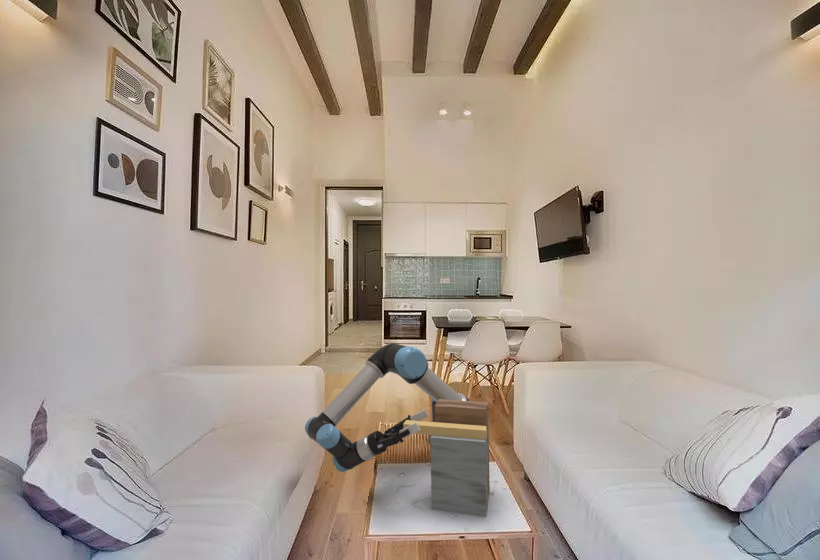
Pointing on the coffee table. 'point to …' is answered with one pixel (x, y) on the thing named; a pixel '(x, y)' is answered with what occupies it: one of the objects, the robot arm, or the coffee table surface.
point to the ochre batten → (449, 429)
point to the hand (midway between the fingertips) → (422, 418)
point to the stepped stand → (460, 460)
